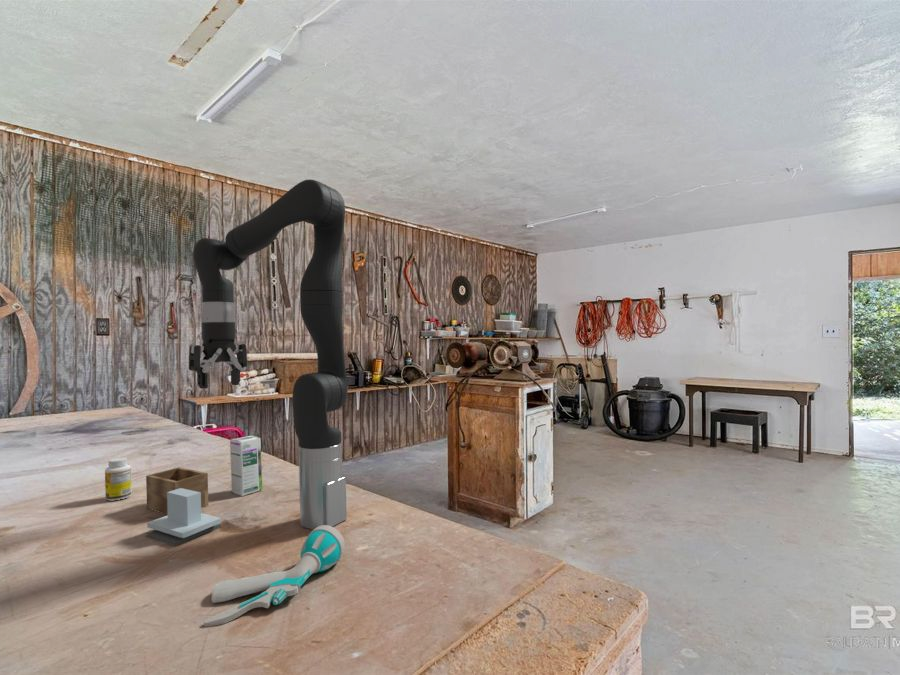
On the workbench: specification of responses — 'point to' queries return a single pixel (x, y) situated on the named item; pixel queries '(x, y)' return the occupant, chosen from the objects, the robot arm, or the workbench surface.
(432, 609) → the workbench surface
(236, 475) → the syrup box
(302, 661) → the workbench surface
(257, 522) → the workbench surface
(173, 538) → the mat
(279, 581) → the garden hose nozzle
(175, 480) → the crate
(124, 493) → the supplement bottle
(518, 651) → the workbench surface
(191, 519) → the lid
